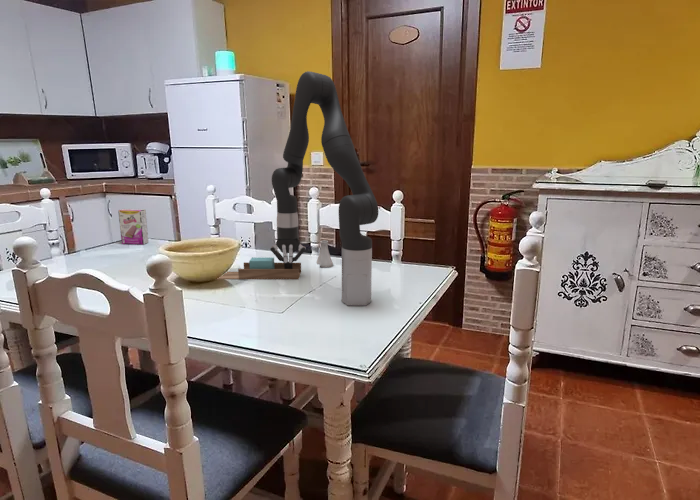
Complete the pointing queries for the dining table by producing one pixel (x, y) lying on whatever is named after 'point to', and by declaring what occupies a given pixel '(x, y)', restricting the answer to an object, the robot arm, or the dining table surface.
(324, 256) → the flask
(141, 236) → the candy bar box
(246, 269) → the trap channel
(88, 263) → the dining table surface
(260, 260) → the teal block
